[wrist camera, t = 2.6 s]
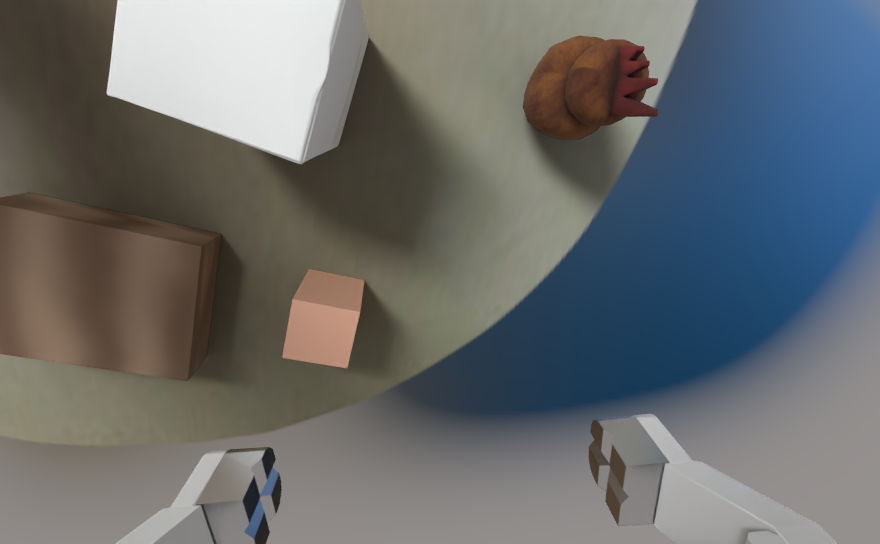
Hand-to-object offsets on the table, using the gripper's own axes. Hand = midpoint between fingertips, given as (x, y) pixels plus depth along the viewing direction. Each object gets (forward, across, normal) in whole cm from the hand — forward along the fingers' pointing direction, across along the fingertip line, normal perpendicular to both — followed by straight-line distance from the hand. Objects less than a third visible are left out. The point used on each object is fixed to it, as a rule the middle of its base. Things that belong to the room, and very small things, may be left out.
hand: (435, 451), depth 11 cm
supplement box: (+27, +9, -12) cm, 31 cm away
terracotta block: (+27, +9, +7) cm, 29 cm away
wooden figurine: (+29, -12, -9) cm, 32 cm away
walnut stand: (+26, +25, +4) cm, 36 cm away
